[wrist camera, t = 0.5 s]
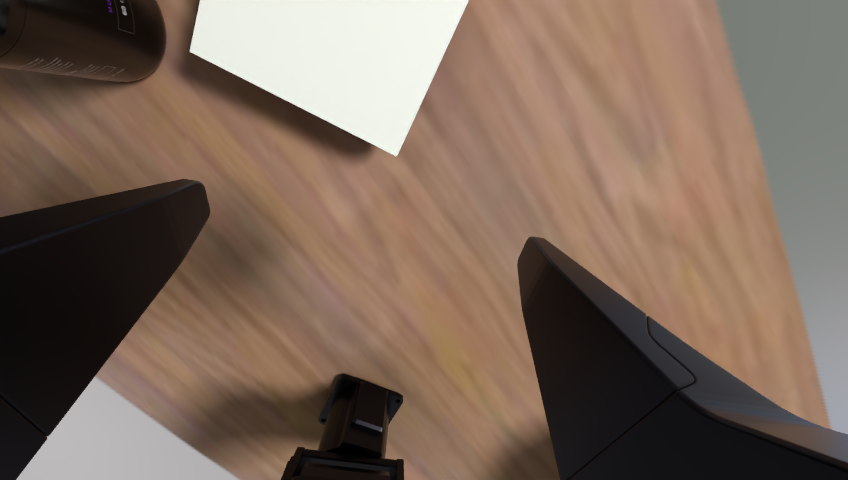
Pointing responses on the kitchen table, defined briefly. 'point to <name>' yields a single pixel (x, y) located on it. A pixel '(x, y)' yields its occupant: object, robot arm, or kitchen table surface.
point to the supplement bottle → (83, 37)
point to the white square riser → (334, 55)
